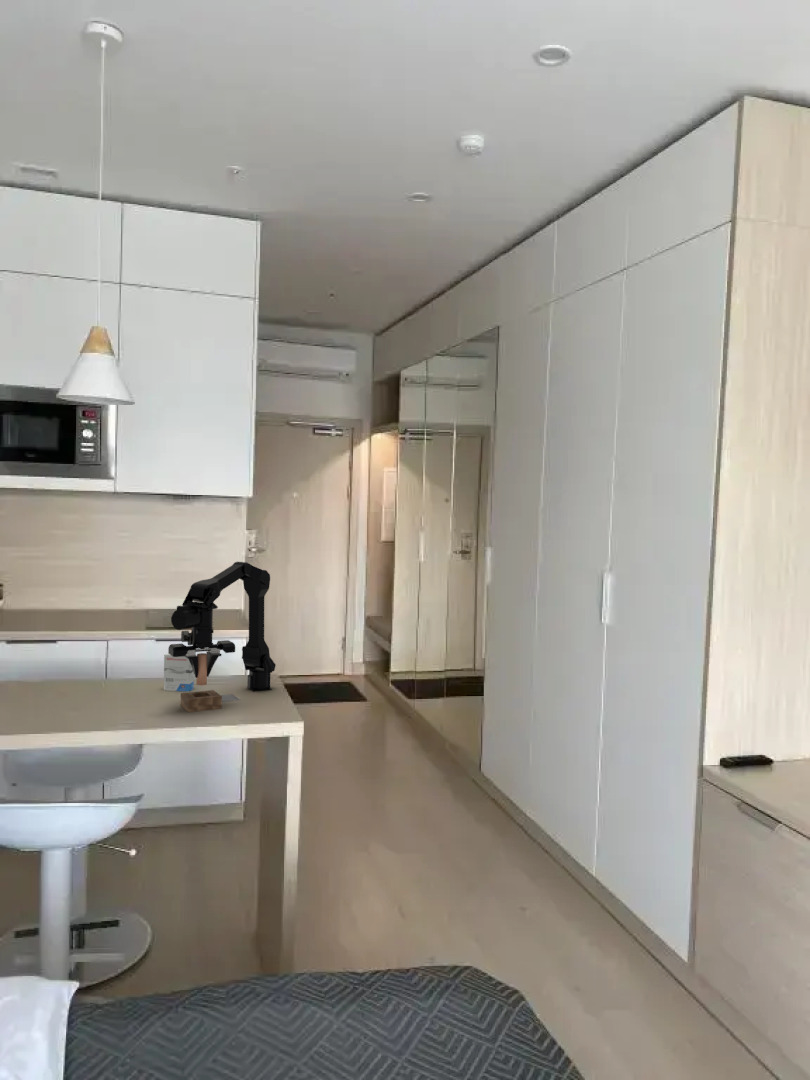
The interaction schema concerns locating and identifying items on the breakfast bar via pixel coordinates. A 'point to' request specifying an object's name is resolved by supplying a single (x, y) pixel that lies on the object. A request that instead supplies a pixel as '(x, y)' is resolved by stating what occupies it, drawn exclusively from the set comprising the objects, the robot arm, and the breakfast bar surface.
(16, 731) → the breakfast bar surface
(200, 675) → the peg
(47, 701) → the breakfast bar surface
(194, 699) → the hole block
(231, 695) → the mat
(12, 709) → the breakfast bar surface
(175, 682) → the ink box
